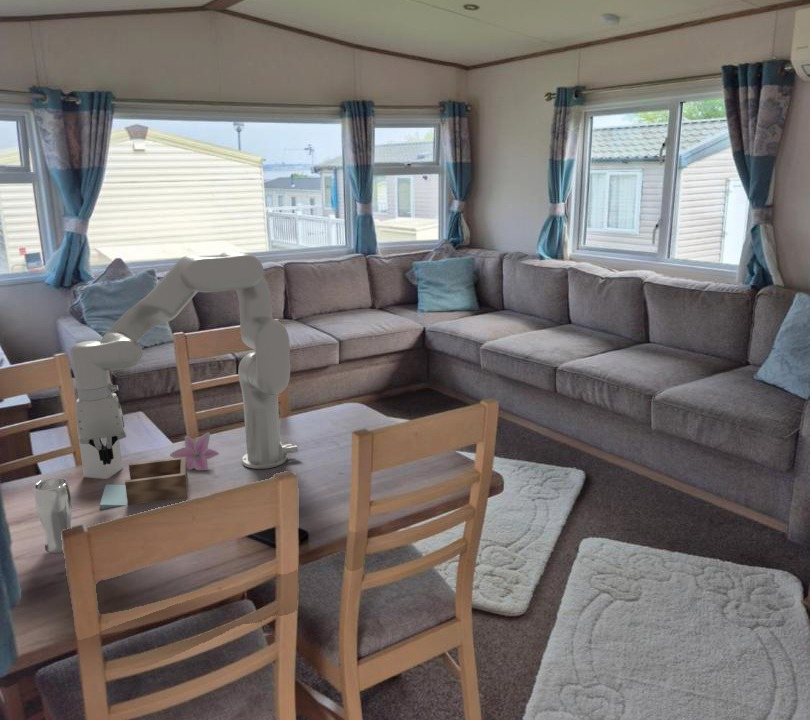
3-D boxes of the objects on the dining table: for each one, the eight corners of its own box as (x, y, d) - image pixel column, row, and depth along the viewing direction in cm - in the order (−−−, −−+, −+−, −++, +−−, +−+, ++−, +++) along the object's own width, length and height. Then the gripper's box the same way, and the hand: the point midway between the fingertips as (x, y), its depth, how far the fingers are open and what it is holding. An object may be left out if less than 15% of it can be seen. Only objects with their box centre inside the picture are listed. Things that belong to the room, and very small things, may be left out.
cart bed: (188, 481, 184) (185, 456, 182) (188, 501, 173) (185, 474, 171) (132, 489, 180) (129, 463, 179) (128, 509, 169) (125, 482, 167)
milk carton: (107, 483, 184) (98, 415, 179) (84, 481, 186) (74, 414, 181) (123, 472, 191) (115, 407, 186) (100, 470, 192) (91, 405, 188)
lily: (168, 472, 193) (162, 451, 186) (195, 444, 201) (191, 423, 194) (202, 491, 190) (198, 470, 183) (229, 462, 197) (226, 440, 191)
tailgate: (130, 485, 180) (105, 484, 178) (126, 505, 169) (100, 504, 167) (130, 489, 180) (105, 488, 178) (126, 509, 169) (99, 509, 167)
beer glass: (54, 557, 148) (44, 493, 144) (36, 548, 152) (25, 486, 148) (84, 543, 154) (75, 481, 150) (65, 535, 157) (56, 474, 154)
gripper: (129, 384, 172) (140, 452, 177) (64, 391, 168) (77, 461, 173) (126, 392, 165) (138, 463, 170) (58, 401, 161) (72, 473, 166)
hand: (107, 462), depth 171 cm, fingers closed
